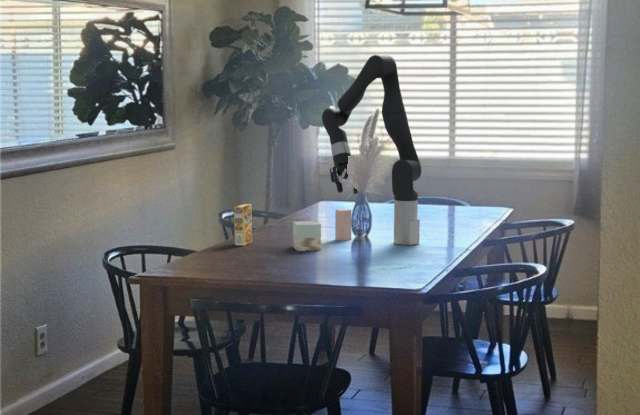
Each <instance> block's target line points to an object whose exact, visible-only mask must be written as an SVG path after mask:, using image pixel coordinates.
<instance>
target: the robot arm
mask: <svg viewBox="0 0 640 415" xmlns="http://www.w3.org/2000/svg"><path fill="white" fill-rule="evenodd" d="M376 79H381V84H382V87H383V100H382V104H381V105H382V106H381V116H382V120H383V124H384V127H385V131H386V133H387V134H388V137H389V138H390V139H391V140H392V142H393V144H394V145H395V147H396V149H397V151H398V152H397V153H398V156H399V160H397V161H395V162H394V163H393V165H392V170H391V189H392V194H393V199H394V200H393V244H395V245H400V246H402V245H404V246H405V245H407V246H412V245H418V244H420V229H421V228H420V227H421V225H420V224H421V222H420V219H419V218H418V212H419V210H418V208H419V206H418V203H419V201H418V200H419V194H418V192H417V191H416V190H415V189H414V182H416V181H417V180H419V179H420V178H421V177H422V176H421V175H422V165H421V161H420V159H419V156H418V154H417V151H416V148H415V144H414V141H413V137H412V134H411V129H410V125H409V121H408V120H409V119H408V116H407V112H406V109H405V105H404V100H403V97H402V92H401V87H400V81H399V74H398V67H397V63H396V60H395V59H394V56H392V55H390V54H387V53H386V54H380V53H379V54H373V55H371V56H370V57H369V58H368V59H367V61H366V62H365V63H364V64H363V67H362V68H361V70H360V71H359V73H358V75H357V76H356V78H355V79H354V81H353V83H352V84H351V85H350V86H349V88H348V89H347V90H346V91H345V92H344V93H343V94H342V96H340V97H339V100H338V101H337V107H338V108H337V109H336V108H330V107H329V108H325V109H324V110H323V112H322V115H321V121H322V124H323V126H324V127H323V128H325V131H326V133H327V134H328V137H329V140H330V143H329V144H330V148H331V150H330V152H331V156H332V157H331V158H332V160H333V166H332V167H331V168H329V174H330V180H331V183H334V184H335V185H336V190H337V192H338V193H339V194H342V192H343V191H344V189H343V184H342V180H346V179H347V178H348V174H347V164H348V156H351V157H352V154H351V153H352V152H351V148H350V145H349V143H348V135H347V133H346V131H345V130H344V129H342V128H341V127H343V126H344V125H346V124H347V122H348V121H349V118H350V116H351V115H352V112H353V110H355V108H356V107H357V106H358V105H359V104H360V103H361V101H362V100H363V98H364V96H365V92H366V90H367V88H368V87H369V85H370V84H372V83H373V82H374V81H375V80H376ZM347 180H348V179H347ZM352 190H353V194H354V195H357V194H359V193H358V191H357V189H355V188H353V187H352Z"/></svg>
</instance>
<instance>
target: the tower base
mask: <svg viewBox="0 0 640 415" xmlns="http://www.w3.org/2000/svg"><path fill="white" fill-rule="evenodd" d="M321 238H322V236H321V237H320V238H297V237H295V236H294V235H293V234H292V248H294V249H295V250H296V251H297V252H301V251H302V252H303V251H306V250H309V251H321V249H322V246H321V245H322V242H321V241H322V240H321ZM306 252H307V251H306Z"/></svg>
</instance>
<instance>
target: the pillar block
mask: <svg viewBox="0 0 640 415" xmlns="http://www.w3.org/2000/svg"><path fill="white" fill-rule="evenodd" d="M334 218H335V220H334V221H335V222H334V223H335V225H334V226H335V227H334V228H335V241H351V240H352V209H346V208H340V209H335V217H334Z"/></svg>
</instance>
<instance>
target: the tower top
mask: <svg viewBox="0 0 640 415" xmlns="http://www.w3.org/2000/svg"><path fill="white" fill-rule="evenodd" d="M292 230H293V231H292V233H293V234H292V236H293V235H294V236H295V237H297V238H320V237H321V238H322V224H321V223H320V222H318V220H317V221H316V220H308V221H307V220H306V221H304V220H303V221H300V220H299V221H292Z"/></svg>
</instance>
